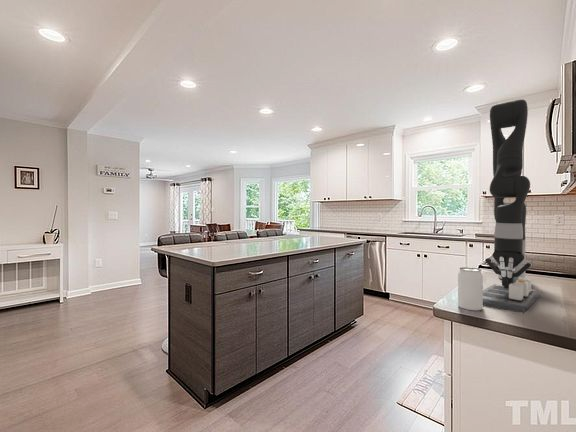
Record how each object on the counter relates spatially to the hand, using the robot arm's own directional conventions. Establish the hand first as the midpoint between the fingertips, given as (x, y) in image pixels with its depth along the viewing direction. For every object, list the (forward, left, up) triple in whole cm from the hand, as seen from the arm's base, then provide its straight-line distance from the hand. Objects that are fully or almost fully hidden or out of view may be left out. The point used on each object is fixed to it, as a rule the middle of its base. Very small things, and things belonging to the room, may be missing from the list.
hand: (507, 288), depth 97 cm
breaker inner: (-6, +3, -1) cm, 7 cm away
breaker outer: (+6, +3, -1) cm, 7 cm away
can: (+18, -6, -4) cm, 19 cm away
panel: (0, 0, -4) cm, 4 cm away
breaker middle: (0, +4, -1) cm, 4 cm away
